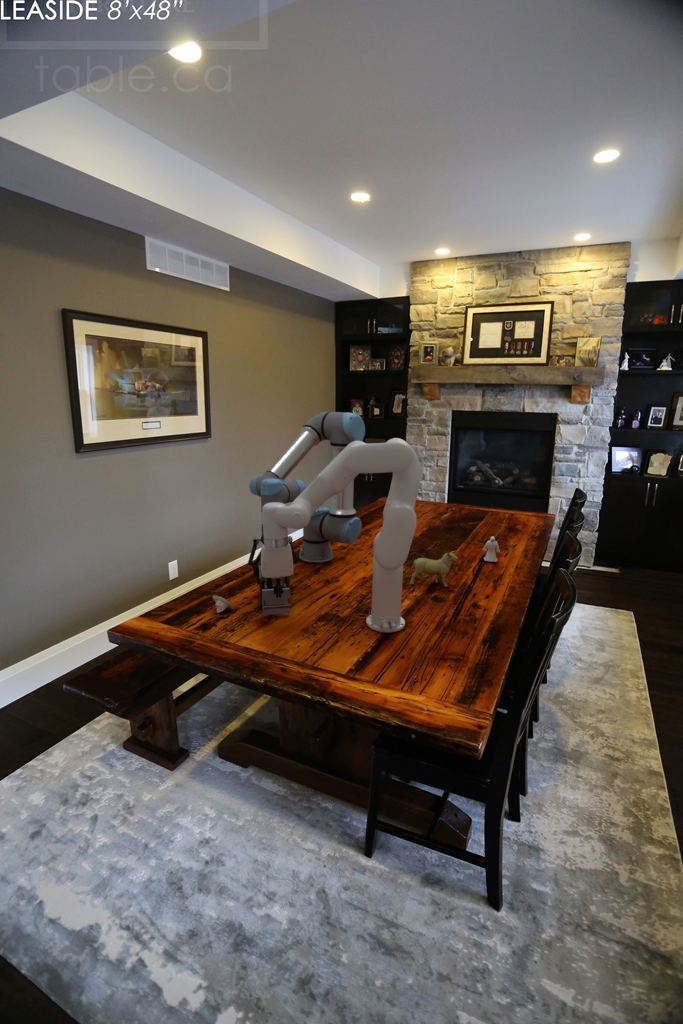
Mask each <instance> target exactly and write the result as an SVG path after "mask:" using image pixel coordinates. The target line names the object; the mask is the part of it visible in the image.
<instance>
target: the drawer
mask: <svg viewBox="0 0 683 1024" xmlns="http://www.w3.org/2000/svg"><path fill="white" fill-rule="evenodd" d="M279 581H280V580H279ZM279 581H276V582H277V584H278V583H279ZM278 596H279V594H278ZM262 603H263V608H262V616H269V615H284V614H291V608H292V603H291V589H290V588H286V583H284V585H283V594H281V598H280V597H278V598H276V594H275V595H274V590H273V585H272V584H271V583H269V582H268V581H264V589H262Z"/></svg>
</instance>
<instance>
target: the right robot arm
mask: <svg viewBox="0 0 683 1024" xmlns="http://www.w3.org/2000/svg"><path fill="white" fill-rule="evenodd" d="M382 473H383V474H385V473H392V478H391V482H390V488H389V491H388V495H387V498H386V501H385V505H384V507H383V511H382V517H383V522H382V526H381V530H380V531H379V532H378V533H377V534H376V535H375V536H374V539H373V543H372V585H371V586H372V587H371V607H370V609H371V613H370V615H368V616H367V617H366V621H365V622H366V623H365V624H366V625H367V627H368V628H369V629H372V630H373V631H376V632H379V633H396V632H398V631H402V630H403V629H404V628H405V626H406V620H405V618H403V617H402V615H401V614H402V599H403V598H402V597H403V580H404V564H405V563H406V561H407V559H408V557H409V553H410V549H411V546H412V543H413V539H414V536H415V533H416V529H417V523H418V519H417V512H416V510H415V507H416V501H417V499H418V494H419V489H420V485H421V479H422V467H421V462H420V460H419V456H418V455H417V453H416V451H415V450H414V449H413V447H412V446H411V445H410V444H409V443H408V442H407V441H405V440H404V439H402V438H399V437H394V438H393V437H392V438H390V439H388V440H387V441H386V442H379V443H376V442H375V443H366V442H364V441H363V440H362V441H353V442H351V443H350V444H348V445H347V446H346V447H345V448H344V449H343V450H342V451H341V452H340V453H339V454H338V455H337V456H336V458H335V459H334V458H333V459H332V460H331V461H330V462H329V463H328V464H327V465H326V467H324V468H323V469H322V470H321V472H320V473H319V474H318V475H317V476H316V477H315V478H314V479H313V480H312V481H311V483H309V485H307V486H306V489H305V490H304V491H303V492H302V493H301V494H300V495H299V496H298V497H297V498H296V499H295V500H294V501H293V502H291V503H290V505H286V504H283V503H280V502H271V503H267V504H265V505H264V506H263V508H262V515H263V523H262V524H263V534H264V544H262V545H261V549H260V551H261V560H260V565H261V573H262V574H261V580H262V581H268V582H269V583H271V584H272V585H273V590H274V595H275V594H276V598H278V597H280V598H281V594H283V585H284V583H285V582H286V581H287V580H288V579H290V580H291V579H294V578H295V572H294V564H293V556H292V551H291V546H290V544H289V542H290V541H292V542H293V539H294V538H293V536H291V537H289V536H290V535H288V534H289V532H288V531H289V530H288V529H294V530H303V528H304V527H306V526H307V525H308V524H309V522H310V519H311V516H312V515H313V513H314V512H315V511H316V510H317V509H318V508H319V507H322V506H323V504H324V503H326V502H327V501H328V500H329V499H330V498H333V496H334V495H337V494H339V493H340V492H341V491H342V490H343V489H344V488H345V487H346V486H347V485H348V484H349V483H350V482H351V481H352V480H353V479H354V480H355V478H357V476H358V475H359V474H382ZM275 577H280V581H279V583H278V584H277V582H276V580H275ZM278 594H279V596H278Z"/></svg>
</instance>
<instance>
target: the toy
mask: <svg viewBox="0 0 683 1024" xmlns="http://www.w3.org/2000/svg"><path fill="white" fill-rule="evenodd" d="M457 552H458V550H452V551H450V552H446V553H444V555H443V556H442V557H441V558H440V559H431V558H427V557H418V558H417V559H416V558H415V559H414V560H413V568H414V572H412V574H411V578H410V581H409V584H410V585H411V586H415V584H416V583H415V582H414V581H415V578H416V577H417V576H418V577H420V579H421V580H422V582H426V578H425V576H424V575H423V574H426V575H428V576H435V578H434V583H435V584H439V581H438V580H439V578H441V581H442V585H443V587H444V588H446V589H447V588H449V585H448V584H447V582H446V580H447V579H446V577H447V575H448V574H449V572H450V570H451V567H452V563H453V561H454V562H458V561H459V557H458V556H457V555H455V554H456V553H457Z"/></svg>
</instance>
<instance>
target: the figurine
mask: <svg viewBox="0 0 683 1024" xmlns="http://www.w3.org/2000/svg"><path fill="white" fill-rule="evenodd" d="M482 551H483V552H486V554H485V556H484V557H483V560H484V561H485V562H495V563H498V558H497V554H496V553H498V554H499V553H501V550H500V547H499V543H498V541H497V540H496V538H495V536H493V535H492V536H490V539H489V540H487V542H486V543H485V544H484V546H483V548H482Z"/></svg>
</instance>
